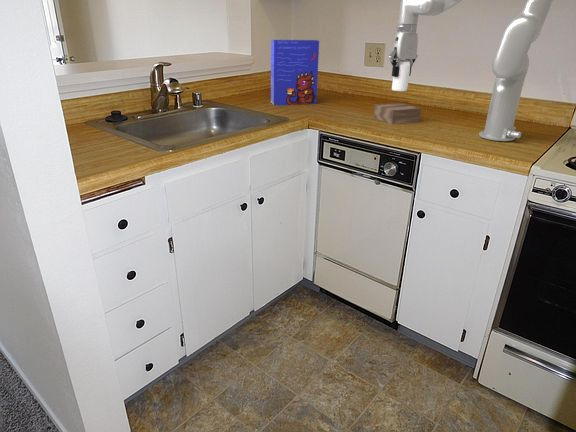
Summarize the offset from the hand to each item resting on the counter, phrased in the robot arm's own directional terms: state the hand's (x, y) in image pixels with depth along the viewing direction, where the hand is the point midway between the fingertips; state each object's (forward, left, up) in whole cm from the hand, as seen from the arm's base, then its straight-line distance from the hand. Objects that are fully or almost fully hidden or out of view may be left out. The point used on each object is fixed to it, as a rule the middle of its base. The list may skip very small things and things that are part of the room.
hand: (401, 75), depth 181 cm
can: (0, 0, -6) cm, 6 cm away
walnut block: (0, 0, -19) cm, 19 cm away
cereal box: (+50, +20, -18) cm, 57 cm away
